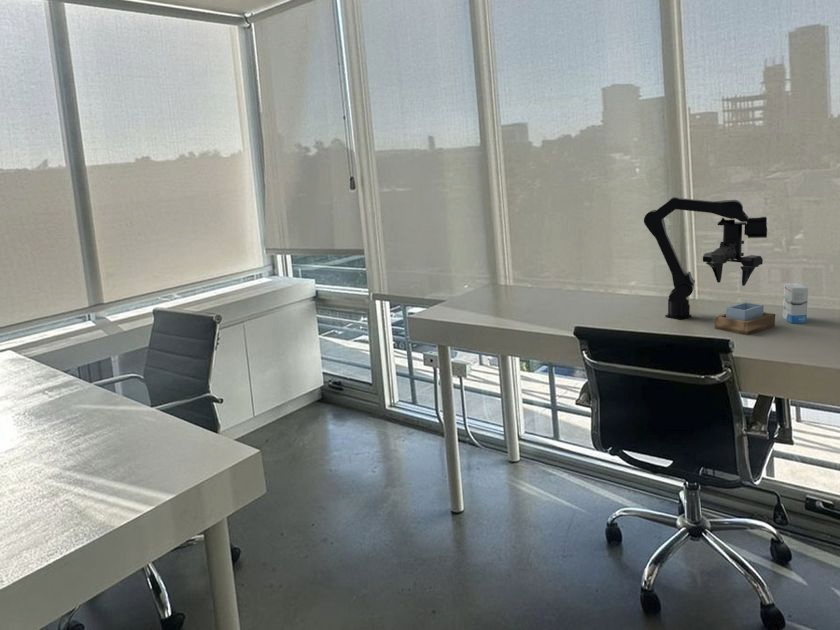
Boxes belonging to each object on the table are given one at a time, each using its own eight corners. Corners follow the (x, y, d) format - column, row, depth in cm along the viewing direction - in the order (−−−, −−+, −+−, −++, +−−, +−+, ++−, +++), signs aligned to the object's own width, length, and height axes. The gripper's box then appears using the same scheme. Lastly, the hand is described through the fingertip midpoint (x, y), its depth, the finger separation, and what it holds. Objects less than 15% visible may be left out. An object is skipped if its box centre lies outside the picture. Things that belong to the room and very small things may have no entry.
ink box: (806, 323, 220) (808, 287, 217) (790, 323, 221) (792, 288, 218) (797, 316, 228) (799, 282, 225) (781, 317, 229) (783, 283, 226)
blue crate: (725, 325, 220) (726, 307, 219) (744, 319, 225) (744, 302, 224) (744, 329, 215) (744, 310, 213) (762, 323, 220) (763, 305, 218)
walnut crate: (714, 328, 221) (715, 316, 220) (742, 320, 229) (742, 308, 228) (747, 335, 212) (747, 322, 211) (774, 325, 219) (775, 313, 218)
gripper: (692, 239, 229) (692, 284, 233) (743, 243, 214) (742, 291, 217) (713, 235, 235) (712, 279, 239) (764, 238, 219) (762, 285, 223)
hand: (731, 284), depth 229 cm, fingers open, 9 cm apart
